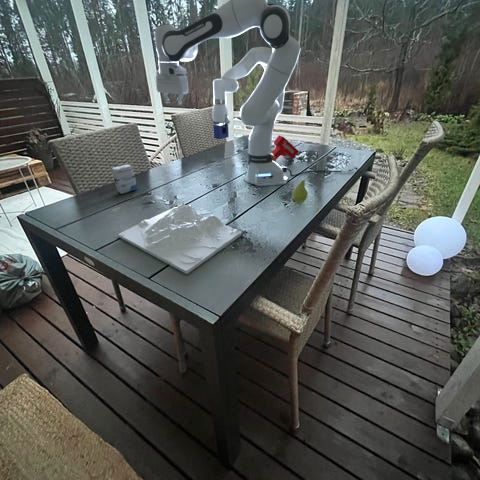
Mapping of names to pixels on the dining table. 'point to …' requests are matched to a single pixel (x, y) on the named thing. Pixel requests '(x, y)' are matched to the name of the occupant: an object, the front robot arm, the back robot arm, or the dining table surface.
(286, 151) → the red power drill
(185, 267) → the relief map
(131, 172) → the ink box
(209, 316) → the dining table surface
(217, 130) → the block
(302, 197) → the fruit
